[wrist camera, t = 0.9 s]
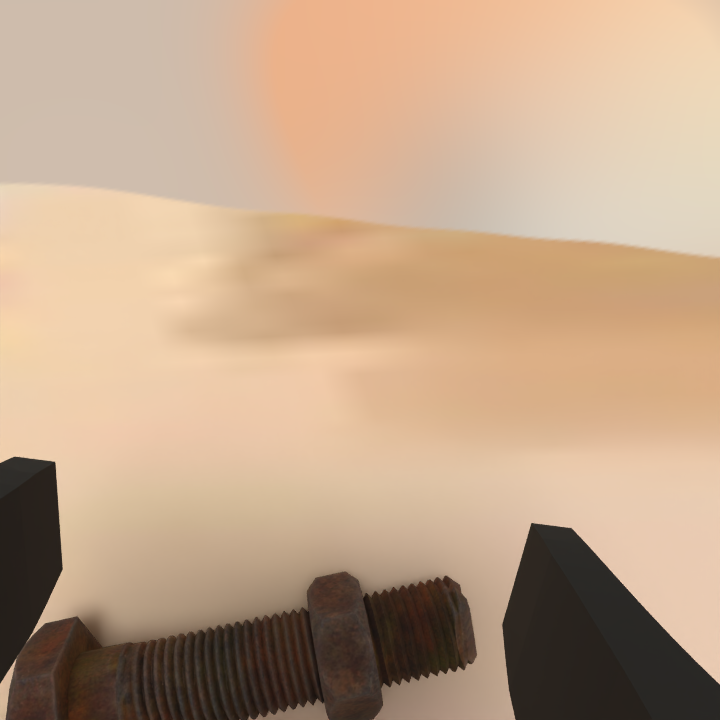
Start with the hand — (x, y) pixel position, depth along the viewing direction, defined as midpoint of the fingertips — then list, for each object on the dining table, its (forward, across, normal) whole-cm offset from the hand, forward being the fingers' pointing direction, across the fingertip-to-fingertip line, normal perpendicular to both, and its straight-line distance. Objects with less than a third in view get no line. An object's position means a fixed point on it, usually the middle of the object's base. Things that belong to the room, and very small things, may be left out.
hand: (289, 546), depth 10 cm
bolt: (+11, +1, +14) cm, 18 cm away
